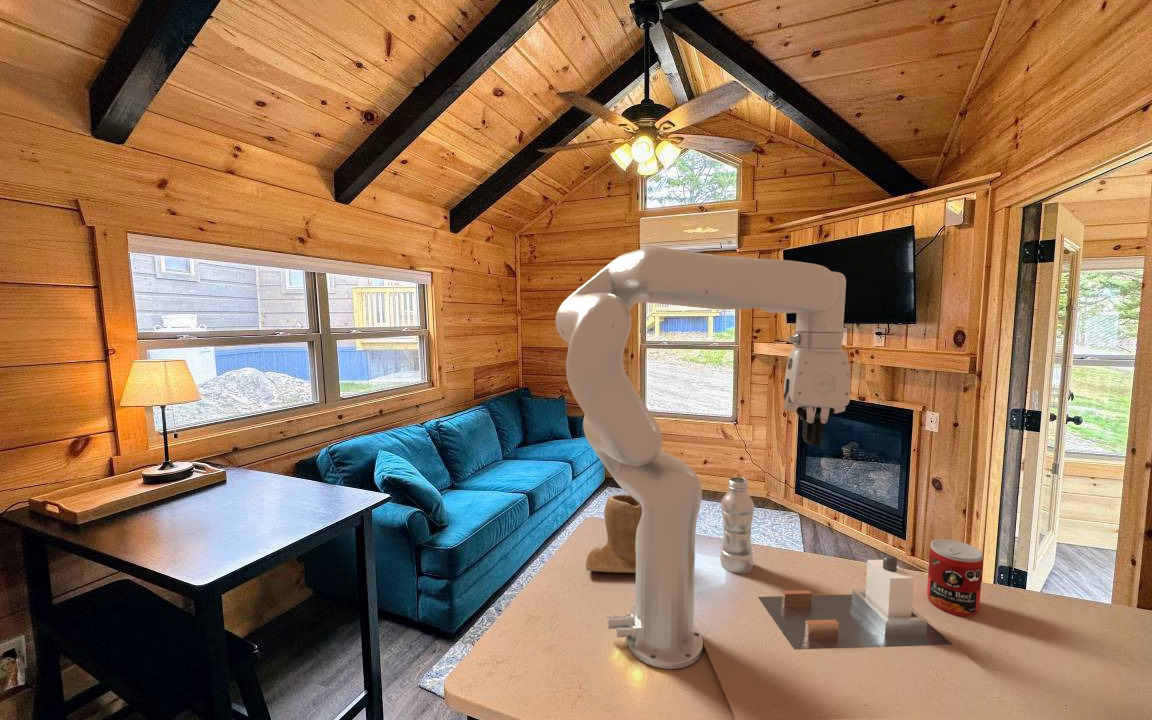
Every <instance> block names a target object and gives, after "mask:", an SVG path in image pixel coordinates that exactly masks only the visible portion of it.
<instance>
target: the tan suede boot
mask: <svg viewBox="0 0 1152 720" xmlns="http://www.w3.org/2000/svg"><path fill="white" fill-rule="evenodd" d="M603 511H604V512H603V516H604V517H603V518H604V522H605V528H606V534H607V535H606V536H607V540H606V541H607V542H606V544H605V545H604V546H599V547H597V546H596V547H594V548H593V549H591V550H589V552H588V554H587V557H586V561H585V571H590V572H602V573H603V572H605V573H622V574H623V573H624V574H625V573H628V574H636V552H635V542H636V531H637V527H638V524H639V521H640V519H641V515H642V507H641V505H640V504H639V503H638V502H637V501H636V500H635V499H634V498H633V497H631V496H630V495H629V494H614V495H610V496H609V497H608V498H607V500H606V502H605V506H604V510H603Z"/></svg>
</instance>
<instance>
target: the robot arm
mask: <svg viewBox="0 0 1152 720" xmlns="http://www.w3.org/2000/svg"><path fill="white" fill-rule="evenodd" d="M846 289H847V279H846V277H845V275H844V274H843V273H841V272H839V271H838V272H837V271H831V270H830V269H829V268H828V267H826V266H824V265H822V264H821V265H820V264H817V263H810V262H804V261H803V262H802V261H799V260H798V261H796V260H789V259H788V260H787V259H778V258H777V259H775V258H758V257H757V258H755V257H745V256H728V255H726V256H725V255H718V254H711V253H704V252H703V253H702V252H695V251H690V250H681V249H675V248H667V247H662V246H661V247H659V246H658V247H657V246H648V247H647V246H646V247H643V248H640V249H636V250H633V251H629V252H626V253H624V254H621V255H619V256H618V257H616V258H614V259H613V260H612V261H611V262H610V263H607V265H606V266H605V267H604V268H602V269H601V270H600V271H599V272H597V273H596V274H595V275H594V276H593V277H591V278H590V279H589V280H588V281H587V282H586V283H584V284H583V285H582V286H580V287H579V288H577V289H576V290H575V291H574V292H572V294H569V296H567V298H566V299H565V300H564V301H563V302H562V303H561V305H560V306H559V308H558V309H557V313H556V315H555V329H556V331H557V333H558V335H559V336H560V338H561V339H562V340H563V341H564V342H566V343H567V344H568V349H567V354H566V355H567V356H566V367H565V369H566V371H565V372H566V373H565V374H566V379H567V383H568V386H569V389H570V391H571V393H572V396H573V397H574V399H575V401H576V403H577V404H578V406H579V407H580V409H581V410H582V412H583V414H584V415H583V421H582V426H583V427H582V429H583V433H584V435H585V438H586V440H587V442H588V444H589V445H590V446H591V449H592V450H593V451H594V453H595V455H596V456H597V457H598V459H599V460H600V461H601V462H602V465H604V467H605V468H606V470H607V471H608V473H609V474H610V475H611V477H612V478H613V480H614V481H615V482H616V483H617V485H618V486H619V487H620V489H621V490H623V491H624V492H625V493H626V494H627V495H630V496H631V497H633V498H634V499H635V500H636V501H637V502H638V503H639V504H640V505H641V507H642V515H641V519H640V521H639V524H638V527H637V531H636V542H635V552H636V573H635V590H634V591H635V593H634V594H635V601H634V602H635V604H634V605H635V606H631V607H630V608H631V613H625V616H623V615H622V616H619V615H611V616H610V615H608V616H607V619H606V620H607V630H616V631H615V634H616V638H625V640H626V641H625V642H626V645H627V648H628V649H629V651H630V652H631V654H633V656H634V657H635V658H637V659H638V660H640V661H641V662H643V663H645V664H647V665H650V666H652V667H654V668H659V669H665V670H667V669H668V670H673V669H674V670H677V669H682V668H685V667H688V666H691V665H692V664H694V663H696V662H697V661H698V660H699V659H700V658H701V655H702V654H703V649H704V642H703V640H704V639H703V637H702V634H701V632H700V631H699V629H698V628H697V627H696V626H695V624H694V622H695V621H694V619H695V618H694V617H695V567H696V566H695V565H696V564H695V563H696V562H695V561H696V559H695V558H696V555H695V553H696V552H695V550H696V547H695V546H696V533H697V532H696V530H697V522H698V516H699V512H700V508H701V504H702V499H703V498H702V497H703V490H702V484H701V481H700V478H699V477H698V475H697V474H696V472H695V470H694V469H692V467H690V466H689V464H687V463H686V462H684V461H682V460H681V459H679V458H678V457H675V456H673V454H670V453H668V452H665V451H663V450H662V446H663V445H662V443H663V438H662V436H663V435H662V432H661V429H660V426H659V424H658V422H657V420H656V419H655V418H654V416H653V415H652V413H651V411H650V410H649V409H648V407H647V405H646V404H645V402H644V401H643V400H642V398H641V397H640V395H639V393H638V392H637V390H636V389H635V387H634V386H633V384H632V382H631V380H630V378H629V375H628V374H627V372H626V369H625V366H624V351H625V347H626V345H627V341H628V339H629V336H630V334H631V328H632V315H631V309H632V308H633V307H634V306H635V305H636V304H660V305H669V306H681V307H691V308H700V309H701V308H702V309H710V310H742V309H743V310H744V309H745V310H746V309H760V310H762V311H763V312H766V313H769V314H770V313H771V314H796V321H795V331H794V333H793V335H788V337H787V343H789V344H793V347H794V349H793V348H791V349H790V353H789V355H788V359H787V363H786V367H785V368H786V369H785V375H784V382H783V383H784V384H783V399H784V402H783V407H782V408H783V409H784V410H785V411H788V412H792V413H794V414H797V416H798V417H799V418H800V420H802V432H801V435H802V439H803V442H804V443H807V444H808V445H810V446H815V445H816V446H821V445H822V440H823V439H824V428H825V427H824V425H825V424H826V423H828V420H829V418H830V417H832V416H833V415H834V414H839V413H843V412H845V411H846V406H848V405H849V403H850V401H851V400H850V399H851V373H850V372H851V370H850V364H849V363H850V362H849V356H848V351H846V350H843V337H844V333H843V332H844V321H845V305H846V291H847V290H846Z"/></svg>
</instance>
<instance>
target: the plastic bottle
mask: <svg viewBox="0 0 1152 720" xmlns="http://www.w3.org/2000/svg"><path fill="white" fill-rule="evenodd" d="M727 487H728V489H729V490H728V491H727V492H726V493H725V495H724V496H723V497H722V499H721V503H720V506H721V514H722V519H723V520H722V521H723V522H722V523H723V524H722V525H723V538H722V547H721V550H720V556H719V557H720V558H719V559H720V564H721V567H722V569H724V570H725V571H727V572H730V573H733V574H738V575H744V574H749V573H750V572H752V571H753V567H754V555H753V552H752V539H751V537H752V536H751V535H752V523H753V517H754V511H755V504H754V500H753V499H752V498H751V496H750V494H749V493H748V490H749V481H748V479H747V478H744V477H739V476H738V477H737V476H734V477H730V478H729V480H728V486H727Z"/></svg>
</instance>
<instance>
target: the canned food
mask: <svg viewBox="0 0 1152 720" xmlns="http://www.w3.org/2000/svg"><path fill="white" fill-rule="evenodd" d="M983 564H984V553H983V552H982V551H981V550H980V549H978V548H977V547H975V546H974V545H971V544H969V543H965V542H962V541H958V540H955V539H947V538H937V539H933V540H931V542H930V545H929V555H928V574H927V589H926V590H927V591H926V593H927V598H928V601H929V602H930V604H932V605H933V606H934V607H936V609H938V610H941V611H943V612H946V613H948V614H951V615H955V616H959V617H972V616H975V615H977V613H978V612H979V609H980V602H981V592H982V580H983V579H982V577H983V569H984V568H983V567H984V565H983Z"/></svg>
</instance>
